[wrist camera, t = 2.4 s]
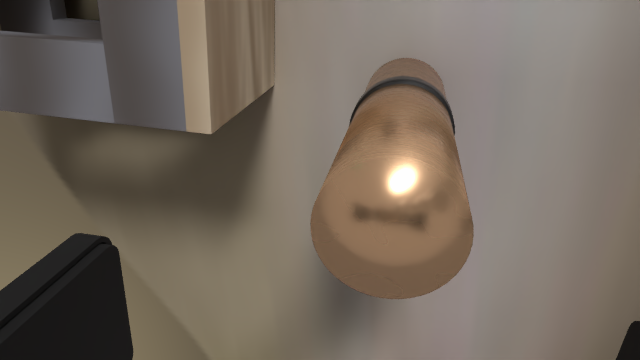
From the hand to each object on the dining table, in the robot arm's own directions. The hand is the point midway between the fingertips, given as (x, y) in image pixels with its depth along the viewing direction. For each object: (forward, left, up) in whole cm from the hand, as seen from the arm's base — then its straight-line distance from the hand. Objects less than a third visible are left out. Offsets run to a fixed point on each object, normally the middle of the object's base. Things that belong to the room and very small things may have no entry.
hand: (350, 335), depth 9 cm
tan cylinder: (-1, 0, -17) cm, 17 cm away
